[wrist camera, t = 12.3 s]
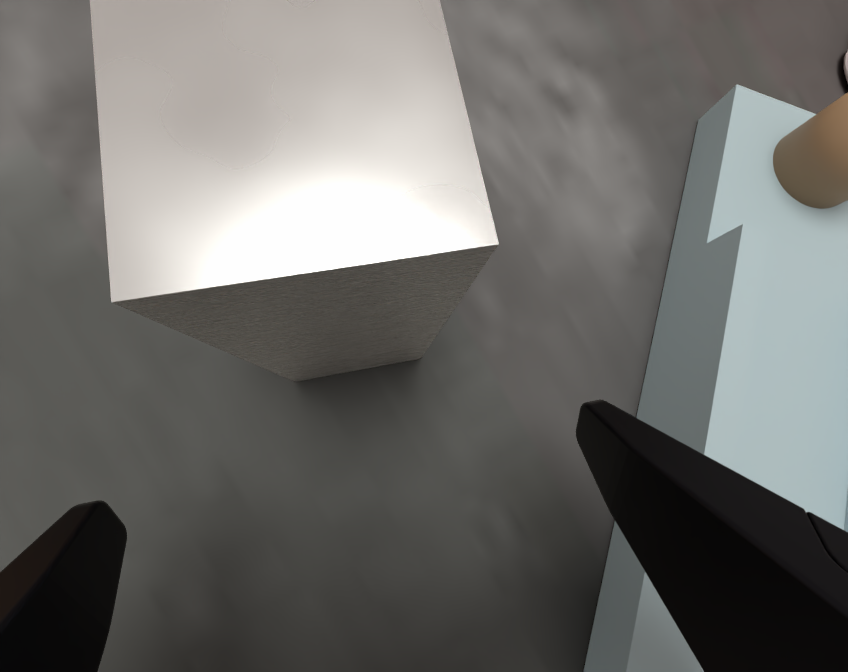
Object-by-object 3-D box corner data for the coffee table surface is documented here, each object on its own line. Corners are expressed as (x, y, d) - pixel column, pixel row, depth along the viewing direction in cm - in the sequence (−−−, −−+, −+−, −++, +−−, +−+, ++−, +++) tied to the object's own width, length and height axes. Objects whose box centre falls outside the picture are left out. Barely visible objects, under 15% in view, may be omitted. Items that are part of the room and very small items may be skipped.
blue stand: (782, 745, 14) (1006, 927, 9) (581, 681, 13) (697, 832, 8) (845, 175, 18) (1013, 87, 13) (698, 120, 18) (815, 10, 13)
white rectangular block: (420, 358, 15) (499, 244, 5) (295, 381, 14) (111, 301, 5) (390, 204, 16) (406, -136, 6) (271, 220, 15) (80, -130, 6)
